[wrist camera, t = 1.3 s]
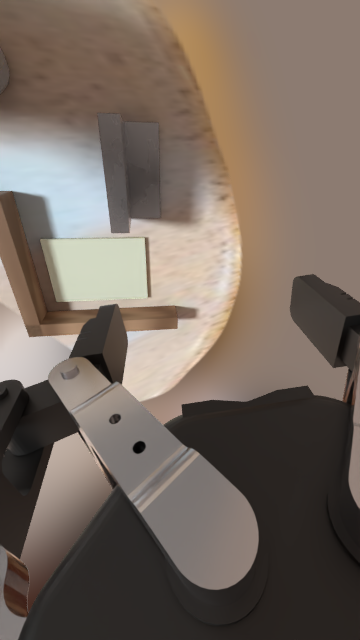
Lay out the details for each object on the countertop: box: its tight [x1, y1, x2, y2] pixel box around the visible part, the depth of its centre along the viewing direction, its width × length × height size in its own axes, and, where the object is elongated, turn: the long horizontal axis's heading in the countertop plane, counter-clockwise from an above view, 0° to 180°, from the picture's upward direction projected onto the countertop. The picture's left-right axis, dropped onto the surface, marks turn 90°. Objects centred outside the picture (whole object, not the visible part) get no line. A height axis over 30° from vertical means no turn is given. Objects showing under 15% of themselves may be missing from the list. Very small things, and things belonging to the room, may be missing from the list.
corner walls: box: [0, 191, 178, 337], centre depth 29 cm, size 18×15×3 cm
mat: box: [40, 237, 148, 302], centre depth 31 cm, size 11×8×1 cm
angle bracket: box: [97, 113, 160, 233], centre depth 23 cm, size 8×4×7 cm, turn 179°
